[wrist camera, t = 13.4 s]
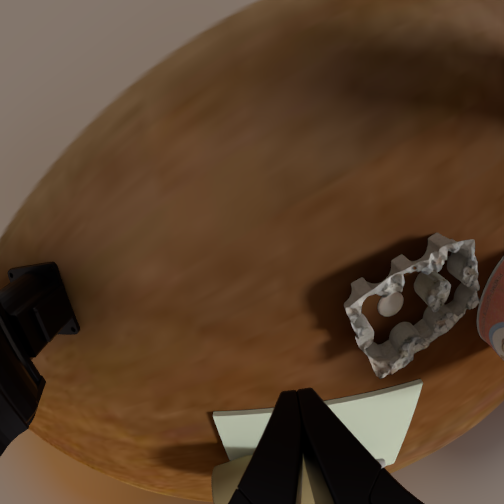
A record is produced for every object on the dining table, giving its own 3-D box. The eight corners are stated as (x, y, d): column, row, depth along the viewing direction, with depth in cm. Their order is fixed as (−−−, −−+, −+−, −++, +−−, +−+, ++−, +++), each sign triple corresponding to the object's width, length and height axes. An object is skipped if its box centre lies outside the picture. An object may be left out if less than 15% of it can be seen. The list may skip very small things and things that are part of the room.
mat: (240, 483, 30) (240, 487, 30) (213, 411, 25) (212, 416, 24) (392, 460, 29) (393, 463, 28) (420, 378, 24) (422, 382, 23)
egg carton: (359, 353, 23) (374, 385, 19) (330, 281, 21) (345, 309, 17) (464, 296, 21) (489, 319, 17) (450, 219, 19) (482, 235, 15)
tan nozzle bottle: (205, 458, 22) (392, 427, 23) (215, 456, 29) (365, 433, 30) (214, 533, 17) (403, 496, 18) (222, 516, 24) (374, 490, 25)
